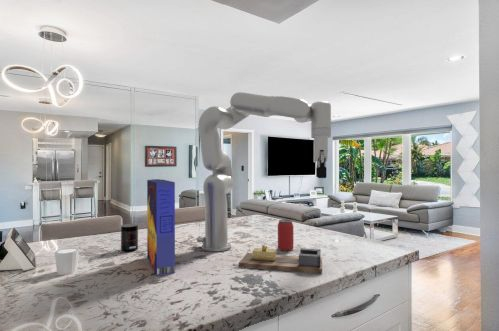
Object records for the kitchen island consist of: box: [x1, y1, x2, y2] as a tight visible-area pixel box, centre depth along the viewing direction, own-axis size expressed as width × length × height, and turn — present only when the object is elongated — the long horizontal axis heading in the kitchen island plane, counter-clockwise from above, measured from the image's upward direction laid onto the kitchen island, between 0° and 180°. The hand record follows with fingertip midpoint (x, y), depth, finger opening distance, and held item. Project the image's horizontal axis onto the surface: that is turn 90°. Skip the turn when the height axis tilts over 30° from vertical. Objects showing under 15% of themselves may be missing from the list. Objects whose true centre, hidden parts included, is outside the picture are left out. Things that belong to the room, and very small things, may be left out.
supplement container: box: [120, 223, 139, 253], centre depth 123 cm, size 7×7×10 cm
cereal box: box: [146, 178, 176, 277], centre depth 105 cm, size 22×6×30 cm, turn 26°
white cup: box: [54, 247, 80, 276], centre depth 98 cm, size 7×7×7 cm
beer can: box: [277, 219, 294, 252], centre depth 124 cm, size 7×7×12 cm
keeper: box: [298, 247, 322, 267], centre depth 102 cm, size 7×9×4 cm
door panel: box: [238, 252, 323, 275], centre depth 105 cm, size 28×12×2 cm, turn 76°
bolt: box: [252, 244, 278, 261], centre depth 106 cm, size 8×4×5 cm, turn 76°
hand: (321, 177), depth 115 cm, fingers open, 9 cm apart
